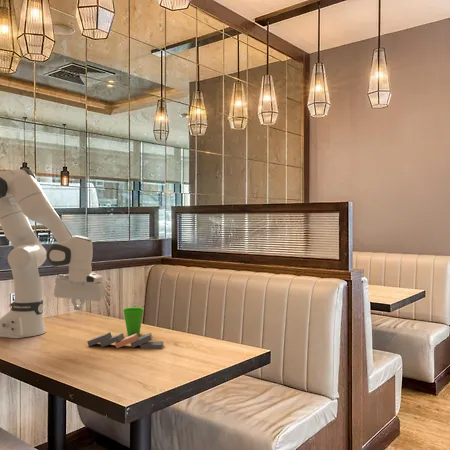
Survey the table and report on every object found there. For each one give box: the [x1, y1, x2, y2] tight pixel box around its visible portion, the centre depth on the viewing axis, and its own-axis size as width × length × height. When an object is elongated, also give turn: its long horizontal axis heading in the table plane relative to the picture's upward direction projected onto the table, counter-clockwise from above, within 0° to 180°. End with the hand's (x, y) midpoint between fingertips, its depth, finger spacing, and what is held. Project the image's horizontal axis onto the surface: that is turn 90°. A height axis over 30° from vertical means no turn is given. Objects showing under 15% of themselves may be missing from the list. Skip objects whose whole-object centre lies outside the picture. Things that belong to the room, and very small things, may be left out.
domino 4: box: [130, 332, 153, 349], centre depth 179 cm, size 2×5×8 cm
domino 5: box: [140, 340, 164, 350], centre depth 178 cm, size 2×5×8 cm
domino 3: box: [114, 333, 140, 349], centre depth 178 cm, size 2×5×8 cm
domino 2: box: [99, 332, 126, 348], centre depth 179 cm, size 2×5×8 cm
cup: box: [122, 306, 145, 336], centre depth 198 cm, size 9×9×11 cm
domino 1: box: [86, 332, 113, 347], centre depth 181 cm, size 2×5×8 cm
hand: (78, 310), depth 184 cm, fingers closed
